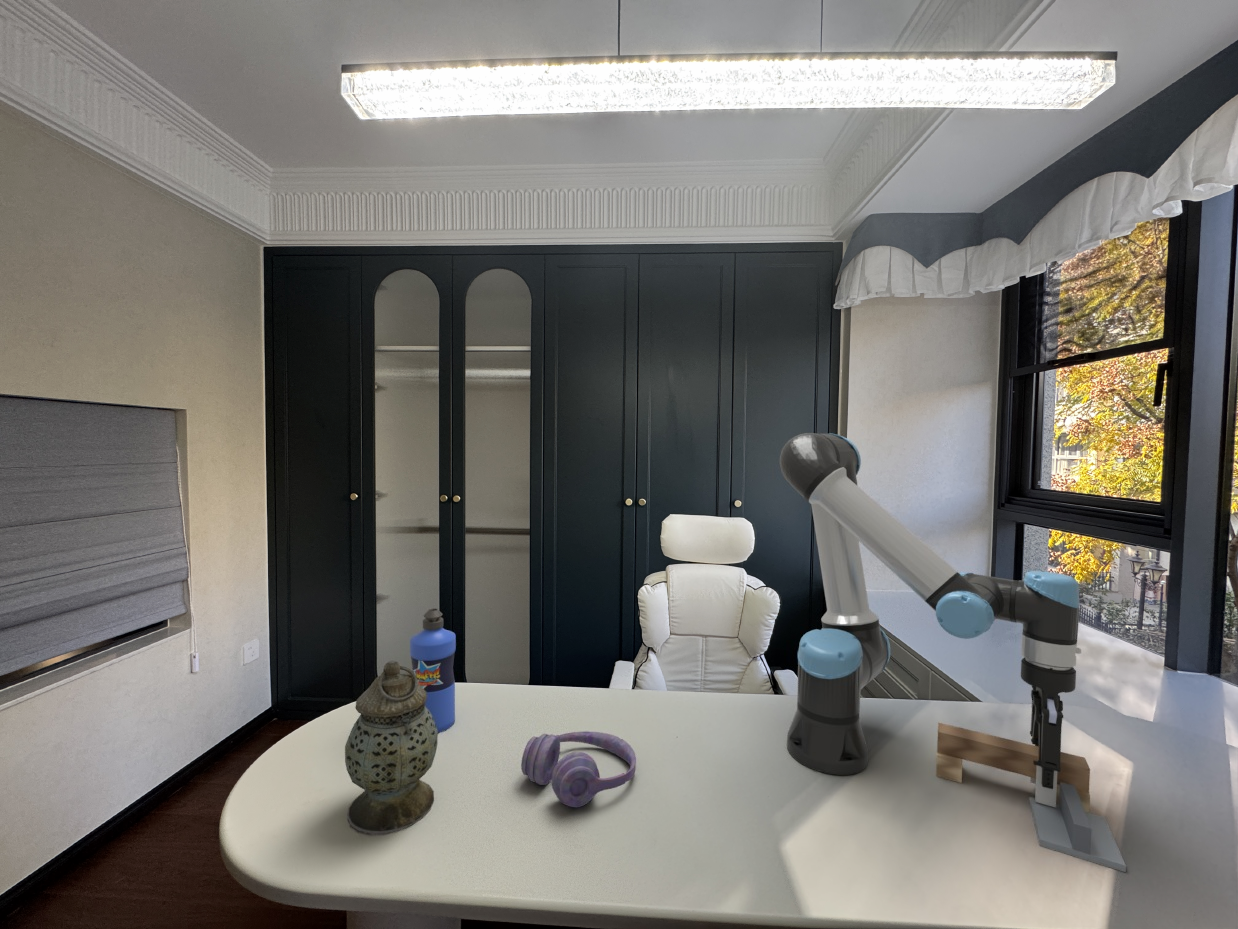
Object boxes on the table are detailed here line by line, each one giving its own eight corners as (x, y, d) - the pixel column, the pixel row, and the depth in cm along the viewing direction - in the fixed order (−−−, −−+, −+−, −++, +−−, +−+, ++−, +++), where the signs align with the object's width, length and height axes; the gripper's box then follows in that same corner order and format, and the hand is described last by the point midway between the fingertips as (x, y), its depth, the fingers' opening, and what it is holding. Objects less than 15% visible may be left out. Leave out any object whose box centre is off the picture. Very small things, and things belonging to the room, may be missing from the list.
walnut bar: (937, 752, 103) (938, 731, 103) (937, 742, 106) (938, 722, 106) (1088, 792, 92) (1090, 769, 91) (1083, 780, 95) (1084, 757, 95)
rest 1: (936, 776, 102) (937, 755, 102) (936, 760, 107) (937, 740, 107) (961, 783, 100) (962, 761, 100) (960, 766, 105) (961, 746, 105)
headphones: (573, 826, 87) (652, 789, 101) (580, 773, 87) (658, 743, 102) (506, 777, 99) (585, 749, 114) (512, 730, 100) (590, 709, 114)
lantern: (441, 777, 100) (441, 642, 99) (431, 831, 86) (431, 675, 85) (358, 786, 97) (357, 647, 96) (334, 844, 83) (333, 683, 82)
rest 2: (1058, 810, 93) (1059, 787, 93) (1052, 791, 98) (1053, 769, 98) (1088, 819, 91) (1090, 795, 91) (1081, 798, 96) (1082, 776, 96)
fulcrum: (1039, 845, 85) (1041, 814, 84) (1029, 802, 95) (1030, 774, 95) (1125, 872, 80) (1127, 839, 79) (1104, 823, 90) (1106, 794, 90)
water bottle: (447, 735, 114) (447, 617, 113) (403, 734, 114) (402, 616, 113) (461, 713, 123) (461, 603, 122) (419, 712, 123) (419, 602, 122)
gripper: (1088, 686, 85) (1081, 833, 86) (1065, 651, 101) (1059, 774, 102) (1028, 675, 89) (1022, 815, 89) (1015, 642, 105) (1010, 761, 106)
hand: (1042, 793), depth 96 cm, fingers open, 6 cm apart
